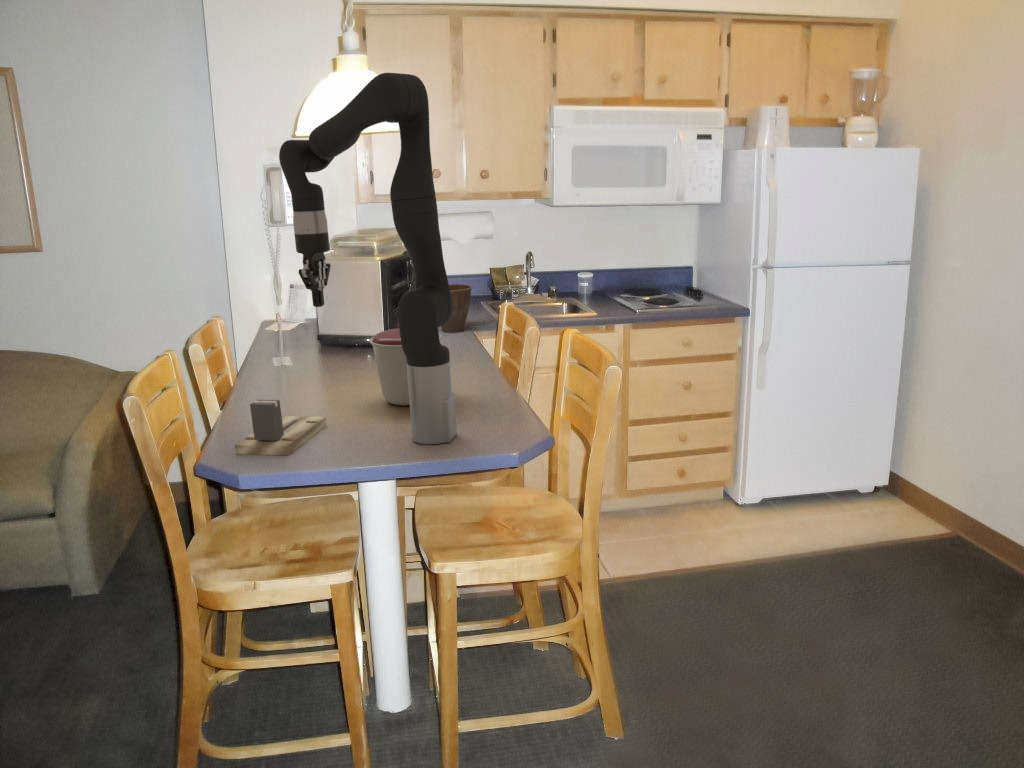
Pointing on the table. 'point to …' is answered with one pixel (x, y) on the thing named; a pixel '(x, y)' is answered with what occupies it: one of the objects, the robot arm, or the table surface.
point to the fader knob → (266, 419)
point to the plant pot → (458, 308)
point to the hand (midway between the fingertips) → (318, 306)
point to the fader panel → (283, 437)
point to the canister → (392, 366)
